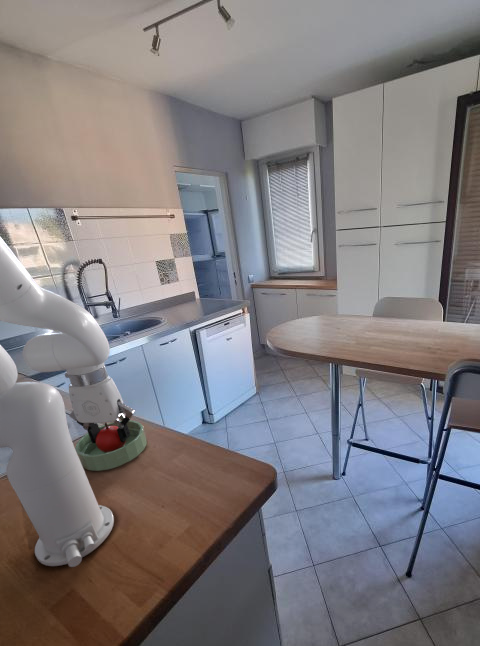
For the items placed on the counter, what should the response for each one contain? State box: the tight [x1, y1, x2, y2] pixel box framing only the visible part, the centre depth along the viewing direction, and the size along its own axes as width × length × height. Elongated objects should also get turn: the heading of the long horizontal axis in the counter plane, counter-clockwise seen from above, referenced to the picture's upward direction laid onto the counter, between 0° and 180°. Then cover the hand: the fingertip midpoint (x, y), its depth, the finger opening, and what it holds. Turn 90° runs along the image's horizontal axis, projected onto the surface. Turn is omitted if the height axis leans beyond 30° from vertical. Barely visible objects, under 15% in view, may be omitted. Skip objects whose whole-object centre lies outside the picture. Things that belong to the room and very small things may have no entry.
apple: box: [96, 422, 126, 453], centre depth 84 cm, size 7×7×8 cm
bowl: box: [75, 419, 148, 472], centre depth 85 cm, size 15×15×5 cm
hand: (111, 439), depth 84 cm, fingers closed on apple, 6 cm apart
